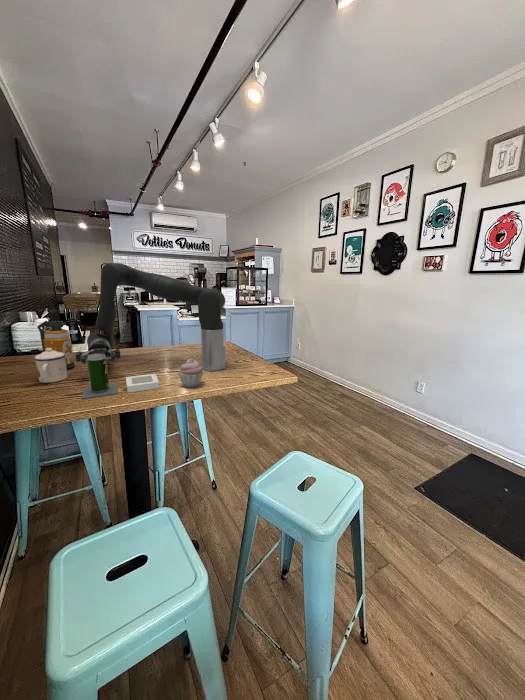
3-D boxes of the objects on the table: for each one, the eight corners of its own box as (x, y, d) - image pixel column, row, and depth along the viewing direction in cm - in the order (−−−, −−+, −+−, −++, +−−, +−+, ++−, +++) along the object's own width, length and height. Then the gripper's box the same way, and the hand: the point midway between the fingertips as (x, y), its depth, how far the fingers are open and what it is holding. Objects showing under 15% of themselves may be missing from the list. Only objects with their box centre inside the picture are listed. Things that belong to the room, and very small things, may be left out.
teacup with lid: (43, 376, 108) (38, 346, 105) (71, 374, 111) (67, 345, 108) (30, 387, 97) (24, 354, 94) (61, 384, 100) (56, 352, 97)
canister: (65, 371, 113) (57, 322, 108) (37, 371, 113) (28, 321, 108) (79, 365, 122) (73, 319, 117) (54, 364, 122) (46, 318, 117)
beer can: (91, 394, 91) (87, 358, 88) (90, 388, 95) (86, 354, 92) (110, 391, 94) (106, 356, 91) (108, 385, 98) (104, 352, 95)
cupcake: (191, 391, 96) (190, 363, 94) (172, 385, 101) (171, 358, 99) (210, 383, 104) (209, 357, 101) (192, 378, 109) (191, 353, 106)
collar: (155, 379, 107) (155, 373, 106) (159, 388, 98) (159, 382, 98) (126, 383, 102) (125, 377, 102) (127, 392, 94) (127, 386, 93)
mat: (117, 384, 101) (117, 383, 101) (117, 394, 92) (117, 393, 92) (84, 388, 97) (84, 387, 96) (81, 399, 88) (81, 398, 88)
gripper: (77, 341, 109) (72, 351, 95) (118, 339, 116) (119, 347, 102) (80, 360, 111) (75, 372, 97) (120, 356, 117) (121, 367, 103)
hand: (98, 359), depth 99 cm, fingers open, 8 cm apart
